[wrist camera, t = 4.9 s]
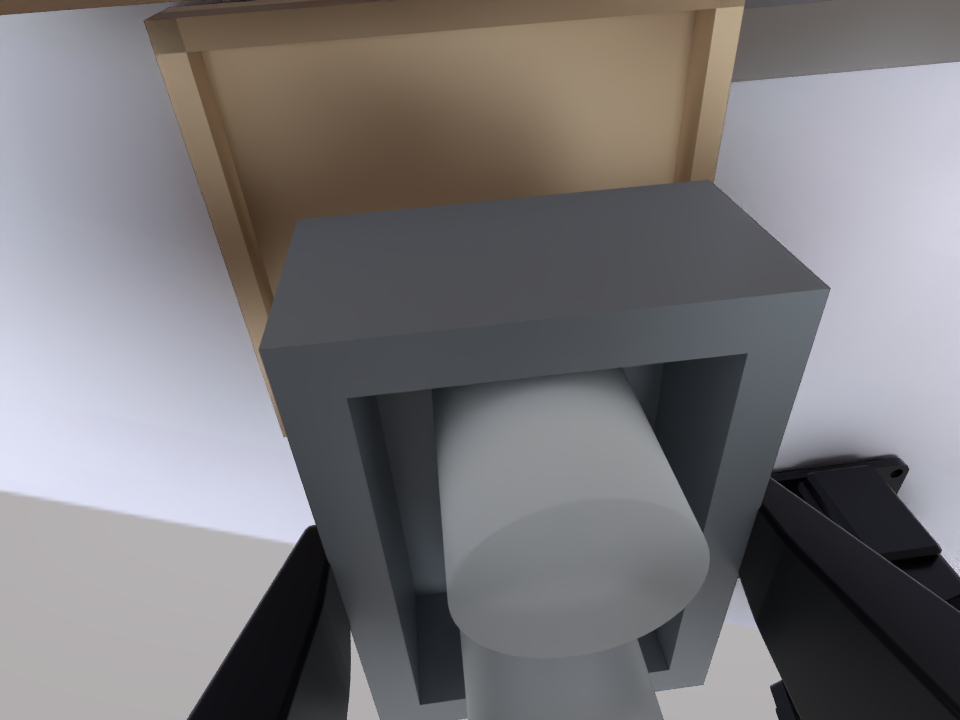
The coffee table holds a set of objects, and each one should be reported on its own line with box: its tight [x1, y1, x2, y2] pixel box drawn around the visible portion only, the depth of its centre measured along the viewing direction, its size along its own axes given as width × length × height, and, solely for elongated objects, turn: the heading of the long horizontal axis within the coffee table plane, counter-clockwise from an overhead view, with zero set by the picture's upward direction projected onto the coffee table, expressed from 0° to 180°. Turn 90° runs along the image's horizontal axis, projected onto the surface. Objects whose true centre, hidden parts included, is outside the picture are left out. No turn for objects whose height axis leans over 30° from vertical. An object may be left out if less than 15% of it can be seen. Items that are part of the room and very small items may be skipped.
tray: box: [259, 180, 831, 720], centre depth 9 cm, size 8×6×4 cm
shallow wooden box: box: [144, 0, 960, 437], centre depth 15 cm, size 11×27×6 cm, turn 93°
